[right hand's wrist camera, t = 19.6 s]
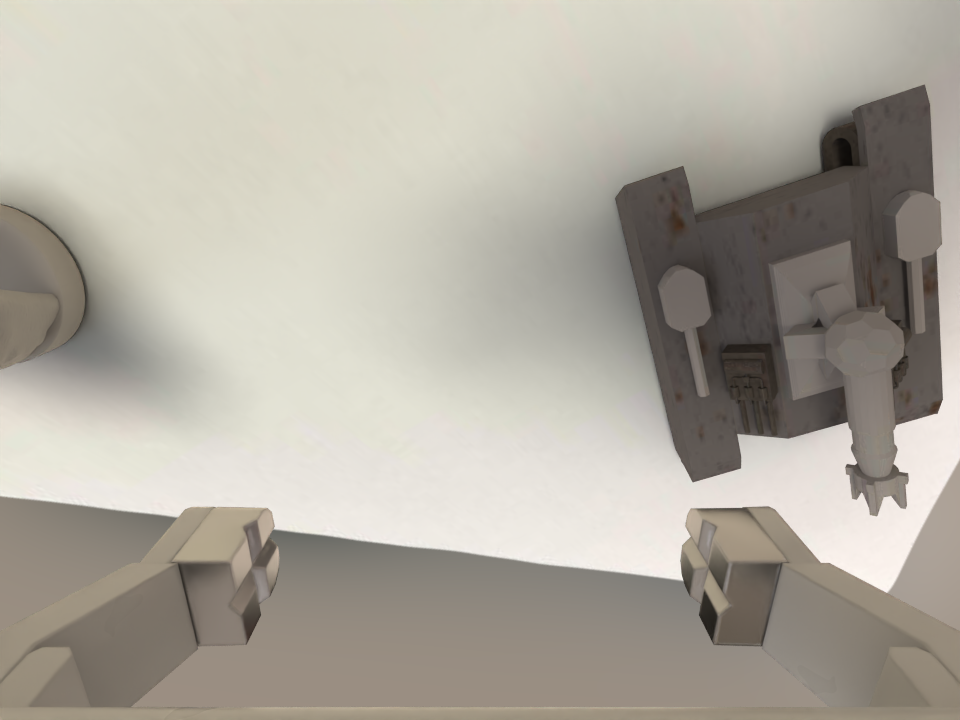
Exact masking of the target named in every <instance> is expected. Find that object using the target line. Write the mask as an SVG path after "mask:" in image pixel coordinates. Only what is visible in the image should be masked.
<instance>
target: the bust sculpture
mask: <svg viewBox="0 0 960 720" xmlns="http://www.w3.org/2000/svg"><path fill="white" fill-rule="evenodd" d="M84 309H85V292H84V286H83V282H82V278H81V275H80V272H79V270H78V268H77V266H76V263H75V262H74V260H73V258H72V256H71V255H70V253H69V252H68V250H67V249H66V248H65V246H64V245H63V244H62V243H61V241H60V240H59V239H58V238H57V237H56V236H55V235H54V234H53V233H52V232H51V231H50V230H48V229H47V228H46V227H45V226H44V225H42V224H41V223H39V222H38V221H37V220H35V219H33V218H32V217H30V216H28V215H27V214H25V213H23V212H20V211H18V210H16V209H13V208H10V207H7V206H4V205H0V369H3V368H6V367H9V366H11V365H14V364H16V363H21V362H25V361H28V360H31V359H33V358H35V357H38V356H40V355H42V354H44V353H47V352H49V351H51V350H53V349H56V348H58V347H60V346H61V345H63V344H64V343H66V342H67V341H68V340H69V339H70V338H71V337H72V336H73V335H74V334H75V332H76V331H77V329H78V327H79V325H80V323H81V321H82V318H83V314H84Z"/></svg>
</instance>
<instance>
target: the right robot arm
mask: <svg viewBox="0 0 960 720" xmlns="http://www.w3.org/2000/svg"><path fill="white" fill-rule="evenodd" d="M274 527H275V525H274V520H273V515H272V512H271V511H270V510H269V509H268V508H244V507H217V508H216V507H191V508H188V509H185V510H184V511H183V513H182V514H181V515H180V516H179V517H178V518H177V520H176V521H175V522H174V523H173V524H172V525H171V527H170V528H169V529H168V530H167V531H166V532H165V534H164V535H163V536H162V537H161V538H160V539H159V540H158V542H157V543H156V544H155V545H154V546H153V547H152V549H151V550H150V551H149V552H148V553H147V555H146V556H145V557H144V558H143V559H142V560H141V561H140V563H130V564H128V565H126V566H124V567H122V568H120V569H118V570H116V571H115V572H113V573H111V574H109V575H107V576H105V577H103V578H101V579H99V580H97V581H95V582H93V583H92V584H90V585H88V586H86V587H84V588H82V589H80V590H78V591H76V592H74V593H72V594H70V595H69V596H67V597H65V598H63V599H61V600H59V601H57V602H55V603H53V604H51V605H49V606H47V607H45V608H44V609H42V610H40V611H38V612H36V613H34V614H32V615H30V616H28V617H26V618H24V619H22V620H21V621H19V622H17V623H15V624H13V625H11V626H9V627H7V628H5V629H3V630H1V631H0V720H960V631H958V630H956V629H954V628H952V627H951V626H949V625H947V624H945V623H943V622H941V621H939V620H937V619H935V618H933V617H932V616H930V615H928V614H926V613H924V612H922V611H920V610H918V609H916V608H914V607H912V606H910V605H909V604H907V603H905V602H903V601H901V600H899V599H897V598H895V597H893V596H891V595H889V594H888V593H886V592H884V591H882V590H880V589H878V588H876V587H874V586H872V585H870V584H868V583H866V582H865V581H863V580H861V579H859V578H857V577H855V576H853V575H851V574H849V573H847V572H845V571H844V570H842V569H840V568H838V567H836V566H834V565H832V564H830V563H820V561H819V560H818V559H817V558H816V557H815V556H814V554H813V553H812V552H811V551H810V550H809V549H808V547H807V546H806V545H805V544H804V543H803V542H802V540H801V539H800V538H799V537H798V536H797V535H796V534H795V532H794V531H793V530H792V529H791V528H790V527H789V525H788V524H787V523H786V522H785V521H784V520H783V518H782V517H781V516H780V515H779V514H778V513H777V511H776V510H775V509H773V508H771V507H743V508H700V509H690V511H689V513H688V515H687V520H686V525H685V527H686V529H687V530H688V532H689V534H690V536H691V537H690V538H689V539H688V540H687V541H686V542H685V543H684V544H683V545H682V552H681V570H682V577H683V580H684V584H685V587H686V589H687V591H688V593H689V595H690V597H692V598H693V599H695V600H696V601H697V602H699V603H700V604H701V606H700V612H699V616H700V618H701V620H702V622H703V624H704V626H705V628H706V630H707V632H708V634H709V636H710V638H711V640H712V642H713V644H714V645H733V646H762V649H763V650H764V651H765V652H766V653H768V654H769V655H770V656H771V657H772V658H773V659H774V660H776V661H777V662H778V663H779V664H780V665H781V666H783V667H784V668H785V669H786V670H787V671H788V672H790V673H791V674H792V675H793V676H794V677H795V678H797V679H798V680H799V681H800V682H801V683H802V684H803V685H805V686H806V687H807V688H808V689H809V690H810V691H812V692H813V693H814V694H815V695H816V696H817V697H819V698H820V699H821V700H822V701H823V702H824V703H826V704H827V705H828V706H829V707H131V706H132V705H134V704H135V703H136V702H137V701H138V700H139V699H140V698H142V697H143V696H144V695H145V694H146V693H147V692H149V691H150V690H151V689H152V688H153V687H154V686H156V685H157V684H158V683H159V682H160V681H161V680H163V679H164V678H165V677H166V676H167V675H168V674H170V673H171V672H172V671H173V670H174V669H175V668H176V667H178V666H179V665H180V664H181V663H182V662H183V661H185V660H186V659H187V658H188V657H189V656H190V655H191V654H193V653H194V652H195V651H196V650H197V649H198V646H226V645H246V644H247V642H248V640H249V638H250V636H251V634H252V632H253V630H254V628H255V626H256V624H257V622H258V620H259V618H260V616H261V612H260V606H259V604H260V603H261V602H263V601H264V600H265V599H267V598H268V597H270V595H271V593H272V591H273V589H274V586H275V584H276V580H277V575H278V571H279V551H278V545H277V544H276V543H275V542H274V541H273V540H272V539H271V538H270V537H269V536H270V534H271V532H272V530H273V529H274Z"/></svg>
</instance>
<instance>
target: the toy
mask: <svg viewBox="0 0 960 720" xmlns="http://www.w3.org/2000/svg"><path fill="white" fill-rule="evenodd" d="M852 114H853V117H854V122H851V123H849V124H846V125H843V126H840V127H837V128H834V129H832V130H831V131H829V132H828V133H827V134H826V136H825V137H824V140H823V147H822V150H823V159H824V168H825V172H824V173H821V174H818V175H815V176H812V177H809V178H806V179H803V180H800V181H797V182H794V183H791V184H788V185H785V186H782V187H779V188H776V189H773V190H770V191H767V192H764V193H761V194H758V195H755V196H752V197H749V198H746V199H743V200H740V201H737V202H734V203H731V204H728V205H725V206H721V207H718V208H715V209H712V210H709V211H706V212H703V213H700V214H697V215H694V210H693V204H692V199H691V194H690V189H689V184H688V181H687V178H686V174H685V171H684V167H683V166H682V167H679V168H676V169H673V170H670V171H667V172H664V173H661V174H658V175H655V176H652V177H649V178H646V179H643V180H640V181H637V182H634V183H631V184H628V185H625V186H624V187H623V188H622V190H621V191H620V192H619V194H618V195H617V196H616V198H615V199H616V203H617V207H618V211H619V215H620V220H621V224H622V228H623V232H624V236H625V240H626V245H627V249H628V253H629V257H630V261H631V265H632V270H633V274H634V278H635V282H636V286H637V290H638V295H639V299H640V303H641V307H642V311H643V315H644V320H645V324H646V328H647V332H648V336H649V340H650V345H651V349H652V353H653V357H654V361H655V365H656V370H657V374H658V378H659V382H660V386H661V390H662V395H663V399H664V403H665V407H666V411H667V415H668V420H669V424H670V428H671V432H672V436H673V440H674V444H675V448H676V451H677V453H678V455H679V457H680V459H681V462H682V463H683V465H684V466H685V468H686V470H687V472H688V474H689V476H690V478H691V480H692V482H696V481H699V480H703V479H706V478H709V477H713V476H716V475H720V474H723V473H727V472H730V471H734V470H737V469H740V468H741V453H740V448H739V442H738V437H737V434H745V435H756V436H767V437H778V438H792V437H796V436H799V435H803V434H806V433H810V432H814V431H817V430H821V429H824V428H828V427H832V426H835V425H839V424H842V423H846V422H848V425H849V428H850V429H851V430H852V438H853V444H852V446H851V450H852V453H853V455H854V457H855V459H856V461H857V464H856V465H849V464H847V465H846V467H845V468H846V474H847V475H850V484H851V492H852V499H856V500H857V498H858V497H859V495H860V493H861V492H862V493H863V494H864V497H865V499H866V502H867V504H868V506H869V510H870V515H873V516H877V515H878V512H879V509H880V506H881V503H882V500H883V497H887V496H892V498H893V499H894V500H895V501H896V503H897V504H898V505H899V507H900V508H903V509H906V506H907V501H906V488H905V484H908V481H909V479H908V473H903V472H899V469H898V468H897V467H896V466H895V465H894V464H893V463H894V460H895V457H896V453H897V446H896V445H895V444H894V434H893V430H894V429H895V427H896V425H898V424H901V423H905V422H908V421H912V420H915V419H919V418H922V417H926V416H929V415H933V414H938V411H939V408H940V405H941V403H942V400H943V393H942V368H941V345H940V322H939V299H938V277H937V254H936V250H937V249H938V248H939V247H940V246H941V244H942V237H941V212H940V201H938V200H937V199H936V198H934V185H933V162H932V140H931V118H930V103H929V99H928V96H927V92H926V88H925V85H922V86H919V87H916V88H913V89H910V90H907V91H904V92H901V93H898V94H895V95H892V96H889V97H886V98H883V99H880V100H877V101H874V102H871V103H868V104H865V105H862V106H859V107H858V108H856V109H855V110H853V111H852Z"/></svg>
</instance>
